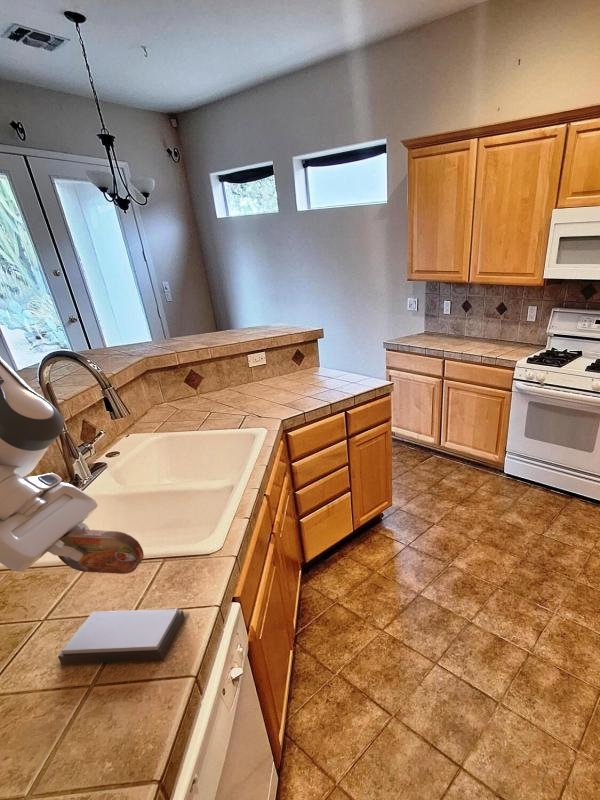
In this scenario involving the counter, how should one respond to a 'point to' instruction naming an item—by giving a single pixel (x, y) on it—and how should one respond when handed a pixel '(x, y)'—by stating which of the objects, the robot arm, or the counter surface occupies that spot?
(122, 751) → the counter surface
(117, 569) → the tin
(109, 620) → the scale
